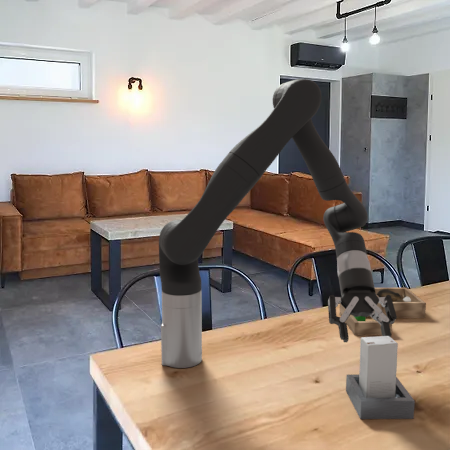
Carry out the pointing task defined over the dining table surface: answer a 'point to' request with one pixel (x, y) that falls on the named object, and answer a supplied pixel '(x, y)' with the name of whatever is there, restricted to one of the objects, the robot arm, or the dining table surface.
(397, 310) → the figurine corral
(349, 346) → the dining table surface
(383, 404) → the keeper tray
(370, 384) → the skincare box
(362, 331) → the tray
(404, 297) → the eagle figurine
